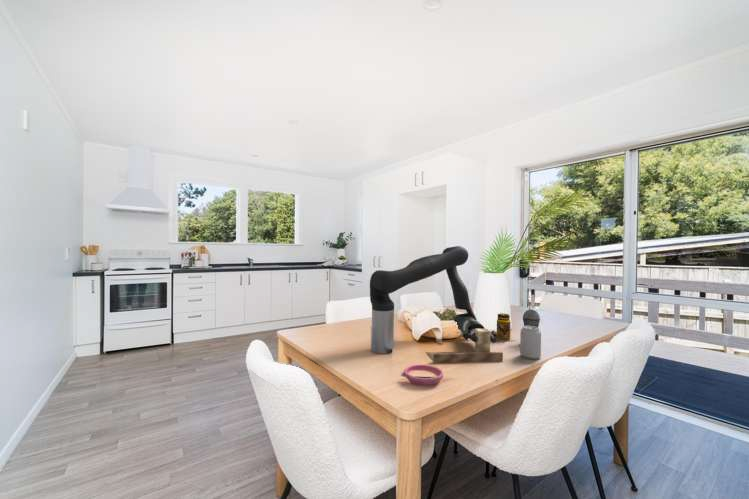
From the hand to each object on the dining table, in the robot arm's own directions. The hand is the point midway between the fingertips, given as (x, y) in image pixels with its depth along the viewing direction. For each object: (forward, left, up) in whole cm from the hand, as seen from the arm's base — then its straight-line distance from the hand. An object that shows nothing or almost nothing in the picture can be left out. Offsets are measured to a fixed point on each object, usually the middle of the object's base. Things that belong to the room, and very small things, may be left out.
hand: (484, 340), depth 123 cm
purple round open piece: (-28, -15, -9) cm, 32 cm away
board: (-8, +2, -8) cm, 12 cm away
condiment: (+23, +30, -9) cm, 39 cm away
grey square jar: (+21, +4, -8) cm, 23 cm away
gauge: (0, +1, -7) cm, 7 cm away
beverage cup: (+32, +21, -8) cm, 40 cm away
